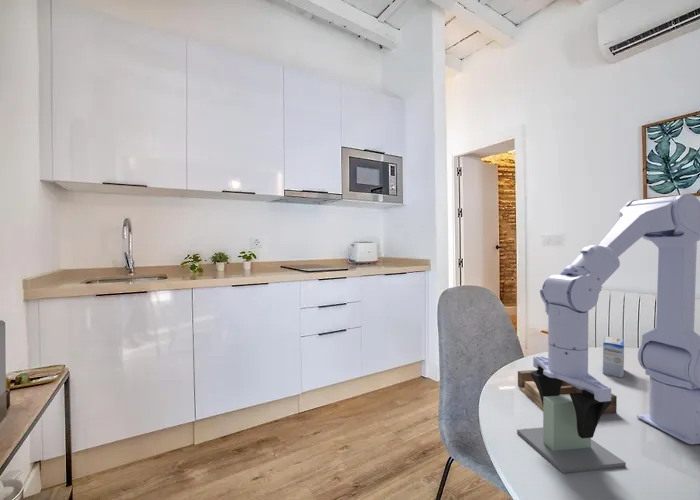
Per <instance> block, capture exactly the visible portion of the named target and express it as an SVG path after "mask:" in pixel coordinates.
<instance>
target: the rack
mask: <svg viewBox="0 0 700 500" xmlns="http://www.w3.org/2000/svg"><path fill="white" fill-rule="evenodd" d="M537 370H538V369H531V370H527V369H526V370H518V371H517V386H518V387H520V388H524V386H525V381H533V382H534V380H533V378H532V377H531V372H532V371H537ZM570 393H582V390H581V389H579V388H577V387H575V386H573V385H571V384H569V383H567V382H565V381H563V382H562V385H561V389H560V394H559V396H561V395H570ZM617 397H618V396H617V395H615V394H614V393H611V399H612V403H611V404H610V405H609V407H608V408H607V409H606V410H605V411H604V413H603V414H602V415H605V414H607V415H608V414H617V410H618V409H617V407H618V406H617V403H618V401H617Z"/></svg>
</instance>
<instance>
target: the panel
mask: <svg viewBox="0 0 700 500" xmlns="http://www.w3.org/2000/svg"><path fill="white" fill-rule="evenodd" d="M560 395H561V396H548V397H543V409H542V412H543V413H542V415H543V418H542V419H543V420H542V423H543V426H542V427H543V443H544V444H546V445H547V446H548V447H549V448H551V449H552V450H553V451H558V450H568V449H578V448H588V447H591V439H592V438H581V437H579V435H578V431H577V419H576V412H575V408H574V404H573V402H572V399H571V397H570V395H564V394H560Z"/></svg>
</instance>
